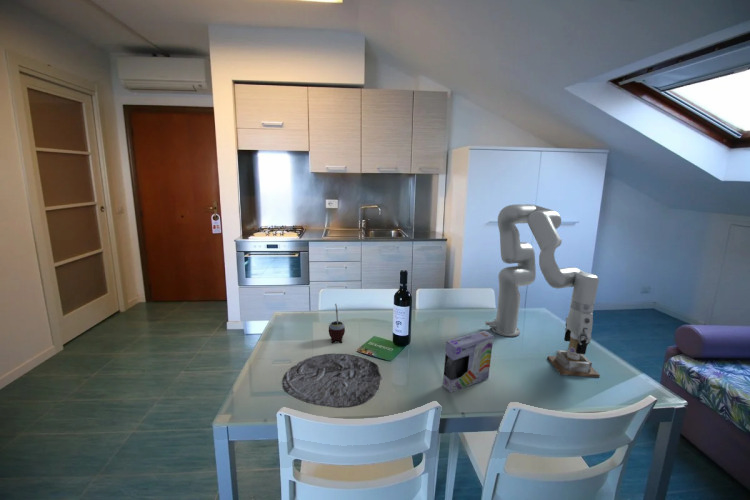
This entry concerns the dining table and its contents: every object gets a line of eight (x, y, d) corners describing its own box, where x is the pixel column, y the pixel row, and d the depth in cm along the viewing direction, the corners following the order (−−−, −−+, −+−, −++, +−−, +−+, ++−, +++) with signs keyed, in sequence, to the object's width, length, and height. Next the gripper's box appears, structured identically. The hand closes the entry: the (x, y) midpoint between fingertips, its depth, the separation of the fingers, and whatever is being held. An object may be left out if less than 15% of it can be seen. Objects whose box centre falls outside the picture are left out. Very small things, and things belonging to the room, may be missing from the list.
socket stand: (560, 374, 131) (562, 363, 130) (547, 358, 143) (548, 348, 142) (599, 377, 130) (601, 366, 129) (582, 360, 142) (584, 350, 141)
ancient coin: (291, 354, 140) (291, 353, 140) (378, 354, 142) (378, 353, 142) (272, 409, 108) (272, 407, 108) (385, 407, 110) (385, 406, 110)
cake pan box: (448, 394, 117) (452, 346, 113) (439, 386, 121) (442, 339, 118) (489, 380, 126) (495, 334, 122) (479, 373, 130) (484, 329, 127)
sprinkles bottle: (564, 364, 136) (569, 332, 133) (566, 360, 139) (572, 329, 136) (577, 369, 133) (583, 336, 130) (579, 364, 137) (585, 332, 134)
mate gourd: (336, 346, 147) (337, 312, 144) (323, 340, 152) (323, 308, 149) (348, 339, 153) (349, 307, 150) (335, 334, 158) (335, 303, 155)
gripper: (605, 315, 122) (596, 359, 126) (580, 298, 139) (573, 337, 143) (583, 314, 123) (574, 358, 127) (561, 296, 140) (554, 336, 144)
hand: (574, 347), depth 135 cm, fingers open, 9 cm apart
